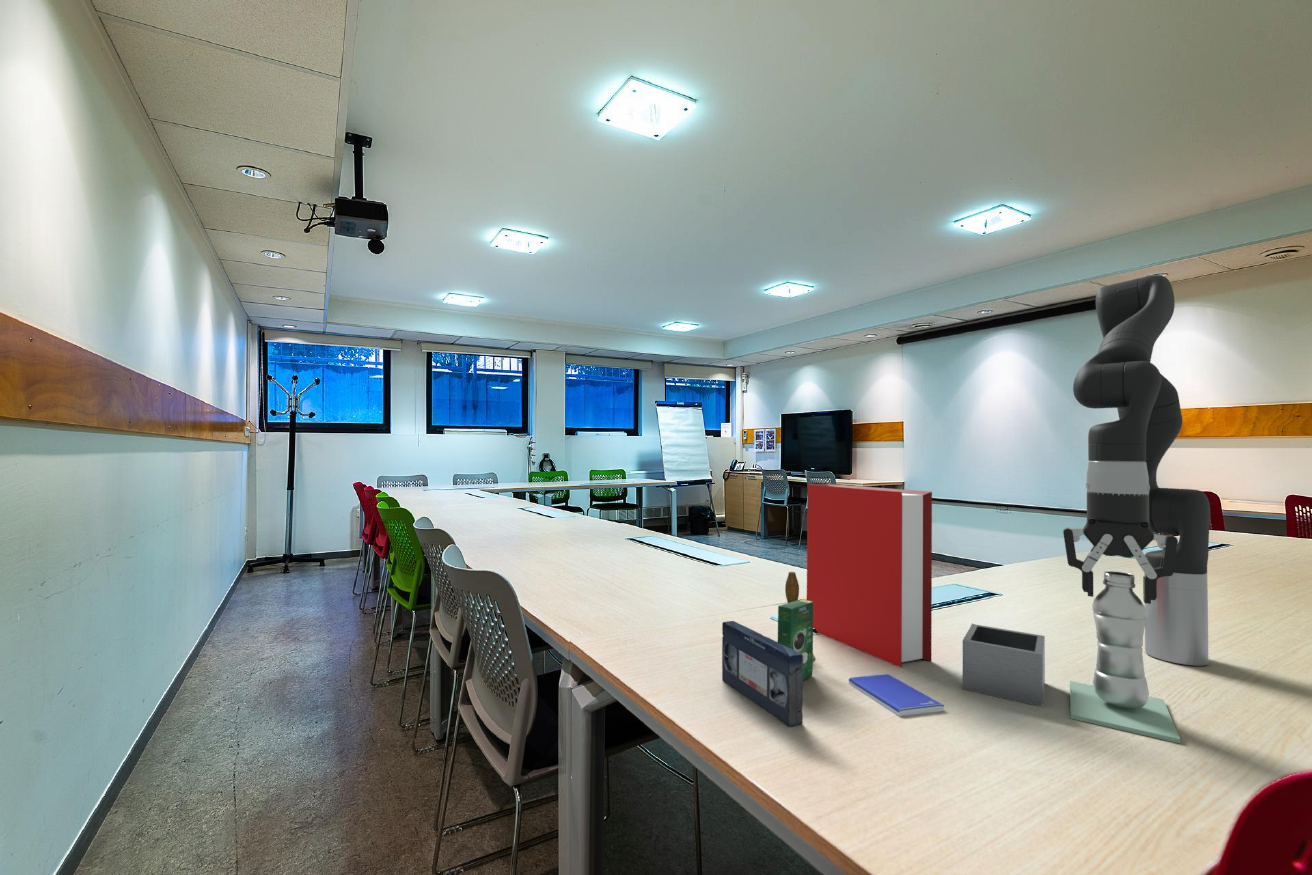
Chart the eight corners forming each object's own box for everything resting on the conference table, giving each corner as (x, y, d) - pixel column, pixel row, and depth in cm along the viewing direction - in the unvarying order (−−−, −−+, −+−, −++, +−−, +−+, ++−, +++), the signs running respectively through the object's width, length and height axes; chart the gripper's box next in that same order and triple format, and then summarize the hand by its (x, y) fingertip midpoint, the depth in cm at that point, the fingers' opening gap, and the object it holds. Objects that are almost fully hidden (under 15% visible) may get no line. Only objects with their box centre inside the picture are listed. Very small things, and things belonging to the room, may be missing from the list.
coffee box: (799, 671, 100) (800, 597, 101) (814, 676, 98) (814, 600, 99) (775, 684, 95) (776, 605, 95) (790, 689, 93) (791, 608, 93)
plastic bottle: (1159, 716, 83) (1158, 579, 84) (1107, 711, 85) (1106, 576, 85) (1132, 697, 90) (1131, 570, 90) (1084, 693, 91) (1083, 568, 91)
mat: (1069, 684, 97) (1069, 680, 97) (1163, 703, 90) (1163, 699, 90) (1070, 718, 84) (1070, 714, 84) (1180, 743, 77) (1180, 738, 77)
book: (931, 661, 107) (931, 491, 108) (900, 667, 103) (901, 492, 104) (829, 622, 131) (830, 484, 133) (802, 625, 128) (803, 484, 129)
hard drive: (944, 703, 86) (889, 673, 98) (898, 708, 84) (848, 677, 96) (944, 714, 86) (889, 682, 98) (898, 719, 84) (848, 686, 96)
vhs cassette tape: (720, 680, 96) (721, 621, 96) (735, 678, 97) (736, 619, 98) (786, 729, 79) (787, 657, 80) (803, 725, 80) (804, 654, 81)
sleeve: (972, 667, 104) (972, 623, 104) (1044, 682, 97) (1044, 635, 98) (962, 688, 94) (962, 640, 94) (1042, 707, 88) (1042, 654, 88)
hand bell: (798, 667, 102) (798, 578, 103) (761, 654, 109) (762, 571, 109) (823, 657, 108) (824, 573, 108) (787, 645, 114) (788, 566, 115)
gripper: (1175, 491, 87) (1176, 601, 86) (1060, 487, 95) (1060, 587, 95) (1183, 494, 81) (1185, 612, 80) (1060, 489, 89) (1060, 596, 89)
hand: (1117, 598), depth 88 cm, fingers open, 6 cm apart
